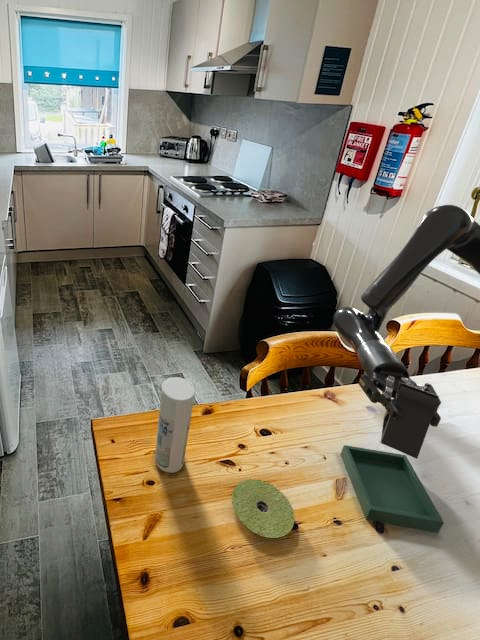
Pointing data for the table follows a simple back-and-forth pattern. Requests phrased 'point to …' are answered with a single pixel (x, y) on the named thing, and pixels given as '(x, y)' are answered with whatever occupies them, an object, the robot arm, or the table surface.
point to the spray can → (174, 423)
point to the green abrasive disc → (263, 508)
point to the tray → (390, 489)
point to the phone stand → (409, 420)
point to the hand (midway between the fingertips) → (417, 420)
